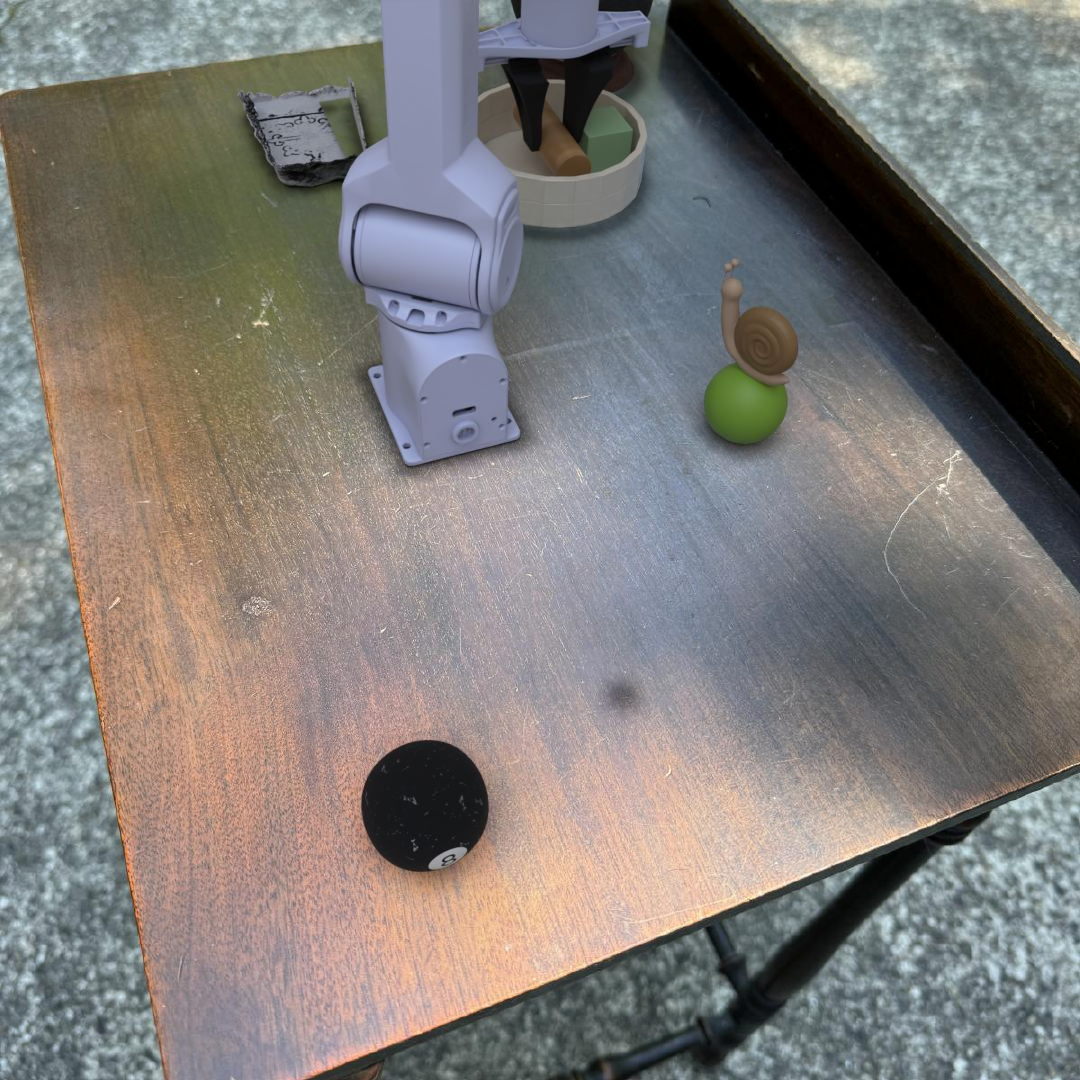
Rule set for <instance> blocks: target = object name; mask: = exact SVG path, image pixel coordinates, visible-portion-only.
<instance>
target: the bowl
mask: <svg viewBox="0 0 1080 1080" xmlns="http://www.w3.org/2000/svg"><path fill="white" fill-rule="evenodd" d="M547 81H548V82H549V83H550V84H549V87H548V90H547V93H546V97H545V100H546V101H547V103H548V104H549V105H550V107H551V108H552V109H553V111H554V112H555V114H556V115H557V116H558V118H559V119H560V120H561V122H562V123H563V107H564V95H565V80H547ZM515 102H516V101H515V98H514V95H513V92H512V89H511V87H510V84H509V82H508V83H503V84H502V85H499V86H497V87H494V88H491V89H488V90H486V91H484V92H482V93H481V94H479V95H478V128H477V136H478V138H479V140H480V141H481V142H482V143H483V144H484V145H485V147H486V148H487V149H488V150H489V151H490V152H491V153H492V154H493V155H494V156H495V157H496V158H497V159H498V160H500V161H501V162H502V163H503V164H504V166H505V167H506V168H507V169H508V170H509V171H510V172H511V173H512V174H513V175H514V176H515V178H516V179H517V190H518V191H519V211H520V219H521V221H522V224H523V225H525V226H530V227H531V226H532V227H537V228H538V227H540V228H550V229H551V228H552V229H553V228H554V229H555V228H556V229H557V228H558V229H563V228H565V229H566V228H575V227H582V226H583V227H584V226H588V225H591V224H595V223H596V224H597V223H600V222H602V221H605V220H607V219H609V218H612V217H613V216H616V215H617V214H619V213H621V212H623V210H624V209H626V208H627V207H628V206H629V205H630V204H631V203H632V202H633V201H634V200H635V199H636V197H637V195H638V193H639V189H640V186H641V183H642V181H643V180H642V179H643V172H644V164H645V157H646V150H647V144H648V143H647V142H648V133H647V127H646V123H645V120H644V118H643V117H642V116H641V115H640V114H639V112H638V111H637V110H636V109H635V108H634V106H633V105H631V104H630V103H629V102H627V101H626V100H624V99H623V98H620V97H619V96H617V95H616V94H614V93H611V92H608V91H605V90H602V92H601V94H600V95H599V97H598V99H597V100H596V102H595V104H594V106H593V108H592V109H596V108H602V107H608V106H614V107H615V108H616V109H617V110H618V112H619V113H620V114H621V115H622V117H623V118H624V119H625V120H626V122H627V123H628V124H629V125H630V127H631V128H632V129H633V135H632V143H631V151H630V155H629V156H628V157H627V158H626V159H624V160H623V161H622V162H621V163H619V164H617V165H614V166H612V167H610V168H607V169H605V170H603V171H601V172H596V173H590V174H585V175H580V176H574V177H561V176H553V174H552V173H551V172H550V170H549V169H548V167H547V166H546V164H545V163H544V161H543V160H542V158H541V157H540V155H539V154H538V153H537V151H535V152H531V150H530V149H529V147H528V146H527V145H526V143H525V142H524V140H523V132H522V129H521V128H520V126H519V125H518V123H517V122H516V120H515V119H514V116H513V107H514V104H515Z"/></svg>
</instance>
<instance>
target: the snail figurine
mask: <svg viewBox="0 0 1080 1080" xmlns="http://www.w3.org/2000/svg"><path fill="white" fill-rule="evenodd" d="M739 265H740V261H739V259H738V258H733V259H732V260H730V262H726V263H725V264H724V265H723V269H722V270H723V271H724V272H725V273H724V279H723V281H722V283H721V285H720V294H721V305H720V325H721V326H720V327H721V336H722V339H723V344H724V347H725V349H726V351H727V353H728V355H729V356H730V357H731V358H732V359H733V361H734V362H732V363H730V364H727V365H726V366H724V367H722V368H721V369H719V370H718V372H716V373H715V374H714V375H713V377H712V378H711V379H710V381H709V382H708V384H707V386H706V389H705V392H704V397H703V410H704V415H705V418H706V420H707V423H708V424H709V426H710V428H711V429H712V430H713V431H714V432H715V433H716V434H717V435H718V436H720V437H721V438H723V440H726V441H728V442H730V443H733V444H734V443H735V444H741V445H748V444H754V443H758V442H761V441H763V440H765V439H767V438H768V437H771V435H773V434H774V433H775V432H776V431H777V430H778V429H779V428H780V427H781V425H782V423H783V421H784V419H785V417H786V415H787V410H788V405H789V403H788V402H789V398H788V392H787V388H786V384H788V383H789V382H790V381H791V380H790V377H788V375H787V374H784V373H785V372H787V371H789V370H790V369H791V368H792V367H793V366H794V364H795V363H796V361H797V358H798V354H799V340H798V336H797V333H796V331H795V328H794V327H793V324H792V323H790V321H789V319H787V317H785V316H784V315H783V314H782V313H781V312H780V311H778V310H776V309H774V308H771V307H768V306H761V305H759V306H753V307H751V308H749V309H747V310H746V311H744V312H742V313H741V315H740V299H741V297H742V296H743V294H744V287H743V284H742V282H741V281H740V280H739V279H737V278H736V277H733V275H734V274H733V273H734V269H735V268H738V267H739ZM730 272H731V273H730ZM728 273H730V277H727V274H728Z"/></svg>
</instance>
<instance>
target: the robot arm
mask: <svg viewBox="0 0 1080 1080" xmlns="http://www.w3.org/2000/svg"><path fill="white" fill-rule="evenodd" d="M379 1H380V2H379V3H380V4H379V5H380V20H381V39H382V52H383V70H384V71H383V72H384V89H385V90H384V91H385V107H386V126H387V136H385V137H383V138H382V139H381V140H379V141H377V142H376V143H374V144H372V145H370V146H369V147H368V148H367V147H366V148H367V149H366V150H365V151H363V150H362V152H361V153H359V154H358V155H359V156H358V157H357V158H356V160H355V161H354V163H353V164H352V166H351V167H350V169H349V171H348V173H347V175H346V178H345V180H343V183H342V184H341V217H340V221H339V226H338V227H339V228H338V237H337V238H338V239H337V248H338V249H337V250H338V258H339V262H340V265H341V268H342V269H343V271H344V274H345V276H346V278H347V279H348V281H349V282H350V283H351V284H353V285H354V286H355V285H357V286H363V289H364V297H365V298H364V299H365V303H366V304H367V305H372V306H374V307H376V315H377V323H378V333H379V340H380V341H379V342H380V353H381V362H382V364H379V365H375V366H372V367H370V368H369V369H368V370H367V374H368V378H369V380H370V383H371V386H372V388H373V390H374V393H375V395H376V398H377V400H378V402H379V405H380V408H381V410H382V411H383V414H384V417H385V419H386V421H387V424H388V427H389V429H390V431H391V434H392V436H393V439H394V441H395V443H396V446H397V448H398V451H399V453H400V456H401V458H402V460H403V462H404V464H405V465H406V466H408V467H409V466H410V467H412V466H413V467H414V466H419V465H422V464H426V463H430V462H433V461H437V460H442V459H445V458H451V457H454V456H459V455H461V454H462V455H463V454H466V453H469V452H473V451H478V450H481V449H485V448H489V447H493V446H497V445H500V444H504V443H508V442H512V441H516V440H518V439H519V438H520V437H521V430H520V428H519V425H518V424H517V422H516V420H515V417H514V416H513V413H512V412H511V410H510V408H509V372H508V368H507V365H506V363H505V360H504V359H503V357H502V355H501V353H500V351H499V348H498V346H497V343H496V339H495V336H494V329H493V327H494V326H493V324H494V323H493V321H494V319H493V318H494V316H495V315H496V314H497V313H498V312H499V311H500V310H501V309H503V308H505V306H506V305H507V304H508V303H509V301H510V299H511V297H512V294H513V292H514V289H515V286H516V283H517V279H518V276H519V273H520V272H519V271H520V266H521V261H522V256H523V250H524V249H523V248H524V224H522V221H521V219H520V211H519V191H518V190H517V179H516V178H515V176H514V175H513V174H512V173H511V172H510V171H509V170H508V169H507V168H506V167H505V166H504V164H503V163H502V162H501V161H500V160H498V159H497V158H496V157H495V156H494V155H493V154H492V153H491V152H490V151H489V150H488V149H487V148H486V147H485V145H484V144H483V143H482V142H481V141H480V140H479V138H478V136H477V128H478V96H479V73H483V72H485V70H486V67H488V68H489V67H494V66H500V67H501V68H502V70H503V72H504V76H505V77H506V79H507V82H508V83H509V84H510V87H511V89H512V92H513V95H514V98H515V101H516V104H517V108H518V112H519V116H520V120H521V126H522V132H523V140H524V142H525V143H526V145H527V146H528V147H529V149H530V150H531V152H535V151H539V149H540V146H541V141H542V114H543V107H544V102H545V97H546V93H547V90H548V87H549V84H550V83H549V82H548V81H547V79H546V78H545V77H544V75H543V74H542V73H541V71H542V66H541V65H540V64H539V63H538V59H540V58H548V59H564V72H565V95H564V107H563V124H564V126H565V127H566V129H567V130H568V131H569V133H570V134H571V135H572V137H573V138H574V139H575V141H576V142H577V144H579V143H580V140H581V137H582V133H583V131H584V128H585V125H586V122H587V120H588V117H589V115H590V113H591V110H592V108H593V106H594V104H595V102H596V100H597V99H598V97H599V95H600V94H601V92H602V90H603V89H604V88H605V86H606V85H607V83H608V82H609V81H610V80H611V78H612V77H613V76H614V71H615V61H614V60H613V58H612V57H611V56H610V55H609V53H610V48H612V47H618V46H625V45H627V46H632V47H634V48H635V49H641V48H647V47H648V46H649V38H650V31H651V21H650V20H649V19H648V17H647V18H646V17H645V16H644V15H643V14H642V12H641V11H632V12H602V11H598V6H599V0H521V18H519V19H516V18H515V19H514V20H511V21H508V22H505V23H503V24H500V25H497V26H495V27H492V28H490V29H487V30H484V31H481V32H480V0H379Z"/></svg>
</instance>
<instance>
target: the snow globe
mask: <svg viewBox="0 0 1080 1080" xmlns="http://www.w3.org/2000/svg"><path fill="white" fill-rule="evenodd" d="M653 2H654V0H599V6H598V11H602V12H632V11H641V12H642V14H643V15H644V16H645V17H646V18H647V19H648V18H649V14H650V12H651V10H652V6H653V4H654V3H653ZM510 3H511V7H512V11H513V14H514V17H515V20H516V19H519V18H521V0H510ZM627 46H628V45H625V46H618V47H612V48H610V53H609V55H610V56H611V57H612V58H613V60H614V61H615V71H614V76H613V77H612V78H611V80H610V81H609V82H608V83H607V85H606V86H605V88H604V89H603V90H605V91H608V92H611V93H612V94H614V93H616V92H618V91H621V90H622V89H624V88H625V87H626V86H627V85H629V84H630V83H631V81H632V80H633V78H634V74H635V68H634V65H633V62H632V60H631V59H630V58H629V56H628V54H627V52H626V51H625V50H624V49H625V48H626V47H627ZM538 63H539V64H540V65H541V66H542V71H541V73H542V74H543V75H544V77H545V78H546V79H547V80H565V72H564V59H548V58H540V59H538Z"/></svg>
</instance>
